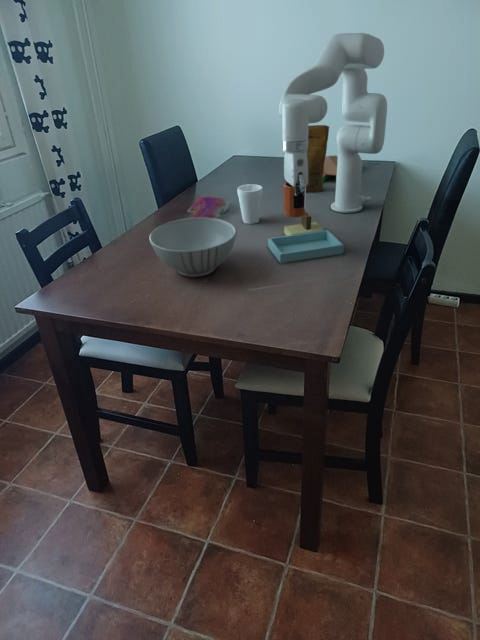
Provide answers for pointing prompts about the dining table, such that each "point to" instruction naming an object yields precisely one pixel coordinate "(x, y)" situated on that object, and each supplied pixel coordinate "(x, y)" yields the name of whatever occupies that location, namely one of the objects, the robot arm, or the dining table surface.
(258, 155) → the dining table surface
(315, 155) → the pancake mix bag
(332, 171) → the house
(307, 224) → the brown switch lever
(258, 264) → the dining table surface
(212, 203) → the pink plastic packet
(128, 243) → the dining table surface
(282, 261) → the blue tray
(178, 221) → the decorative bowl
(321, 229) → the switch panel
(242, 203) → the foam cup
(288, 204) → the cup
